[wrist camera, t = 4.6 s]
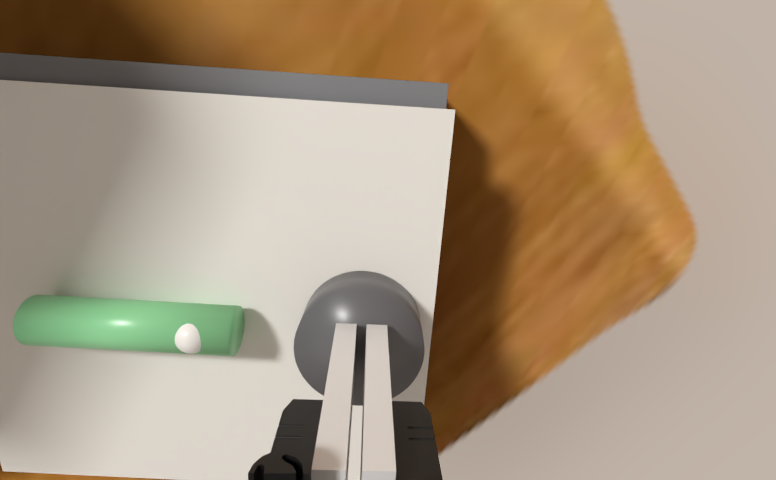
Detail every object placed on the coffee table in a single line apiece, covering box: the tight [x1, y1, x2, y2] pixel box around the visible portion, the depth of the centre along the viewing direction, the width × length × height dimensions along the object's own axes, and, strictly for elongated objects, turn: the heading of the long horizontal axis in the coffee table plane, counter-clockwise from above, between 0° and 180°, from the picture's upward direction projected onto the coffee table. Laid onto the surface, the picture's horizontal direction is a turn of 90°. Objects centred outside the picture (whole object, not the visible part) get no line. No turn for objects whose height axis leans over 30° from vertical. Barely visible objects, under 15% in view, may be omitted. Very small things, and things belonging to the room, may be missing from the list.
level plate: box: [0, 80, 455, 480], centre depth 18 cm, size 20×18×4 cm
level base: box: [0, 53, 449, 109], centre depth 22 cm, size 20×20×4 cm
